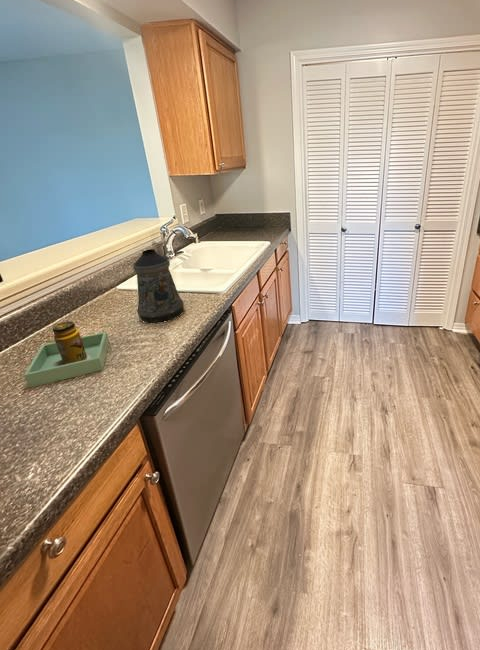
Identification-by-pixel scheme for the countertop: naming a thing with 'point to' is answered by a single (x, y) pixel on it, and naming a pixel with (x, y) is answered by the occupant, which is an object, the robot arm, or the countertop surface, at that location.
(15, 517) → the countertop surface
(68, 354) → the condiment
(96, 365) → the tray
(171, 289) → the beer stein
